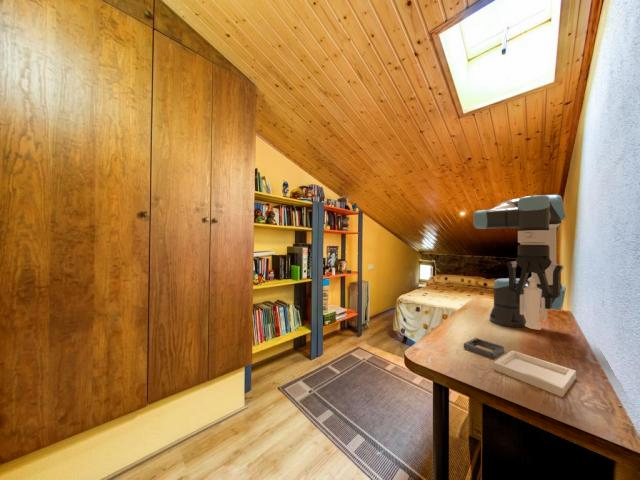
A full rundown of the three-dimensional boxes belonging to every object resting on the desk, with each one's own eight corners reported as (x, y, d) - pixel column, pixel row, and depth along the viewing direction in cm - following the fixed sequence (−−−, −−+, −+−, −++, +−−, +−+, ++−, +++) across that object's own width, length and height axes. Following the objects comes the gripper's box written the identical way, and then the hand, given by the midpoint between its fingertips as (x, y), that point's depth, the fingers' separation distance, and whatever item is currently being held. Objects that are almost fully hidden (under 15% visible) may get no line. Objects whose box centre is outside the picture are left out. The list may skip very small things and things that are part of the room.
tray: (512, 356, 85) (512, 350, 85) (575, 378, 72) (575, 370, 72) (493, 369, 76) (493, 362, 76) (562, 397, 63) (562, 388, 63)
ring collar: (475, 342, 97) (475, 337, 97) (504, 351, 89) (504, 346, 89) (463, 348, 92) (463, 343, 92) (493, 359, 83) (493, 353, 83)
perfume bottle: (547, 330, 71) (547, 282, 71) (531, 329, 72) (531, 282, 72) (536, 325, 76) (536, 280, 76) (521, 324, 77) (521, 279, 77)
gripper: (496, 243, 80) (495, 311, 79) (569, 244, 65) (569, 327, 65) (504, 243, 84) (504, 307, 84) (576, 244, 69) (576, 322, 69)
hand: (533, 316), depth 74 cm, fingers closed on perfume bottle, 4 cm apart
